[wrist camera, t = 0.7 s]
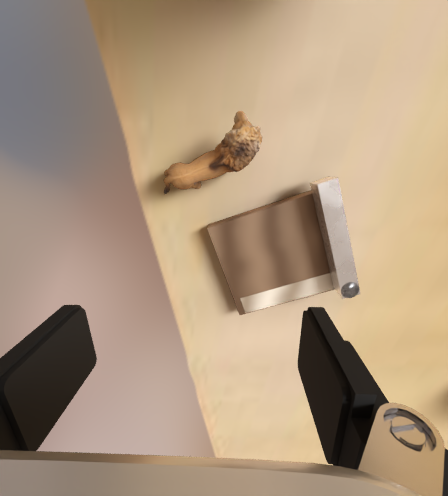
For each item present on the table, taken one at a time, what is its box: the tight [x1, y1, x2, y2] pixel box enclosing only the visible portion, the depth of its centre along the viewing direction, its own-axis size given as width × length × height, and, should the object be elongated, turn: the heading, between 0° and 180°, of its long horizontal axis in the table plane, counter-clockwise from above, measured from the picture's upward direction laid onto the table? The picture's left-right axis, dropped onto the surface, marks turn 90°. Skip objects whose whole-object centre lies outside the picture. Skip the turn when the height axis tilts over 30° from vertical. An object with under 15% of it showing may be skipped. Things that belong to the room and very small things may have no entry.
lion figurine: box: [164, 111, 262, 194], centre depth 29 cm, size 15×5×9 cm, turn 121°
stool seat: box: [207, 190, 334, 315], centre depth 36 cm, size 18×15×2 cm
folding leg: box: [310, 177, 360, 299], centre depth 32 cm, size 16×2×3 cm, turn 19°
